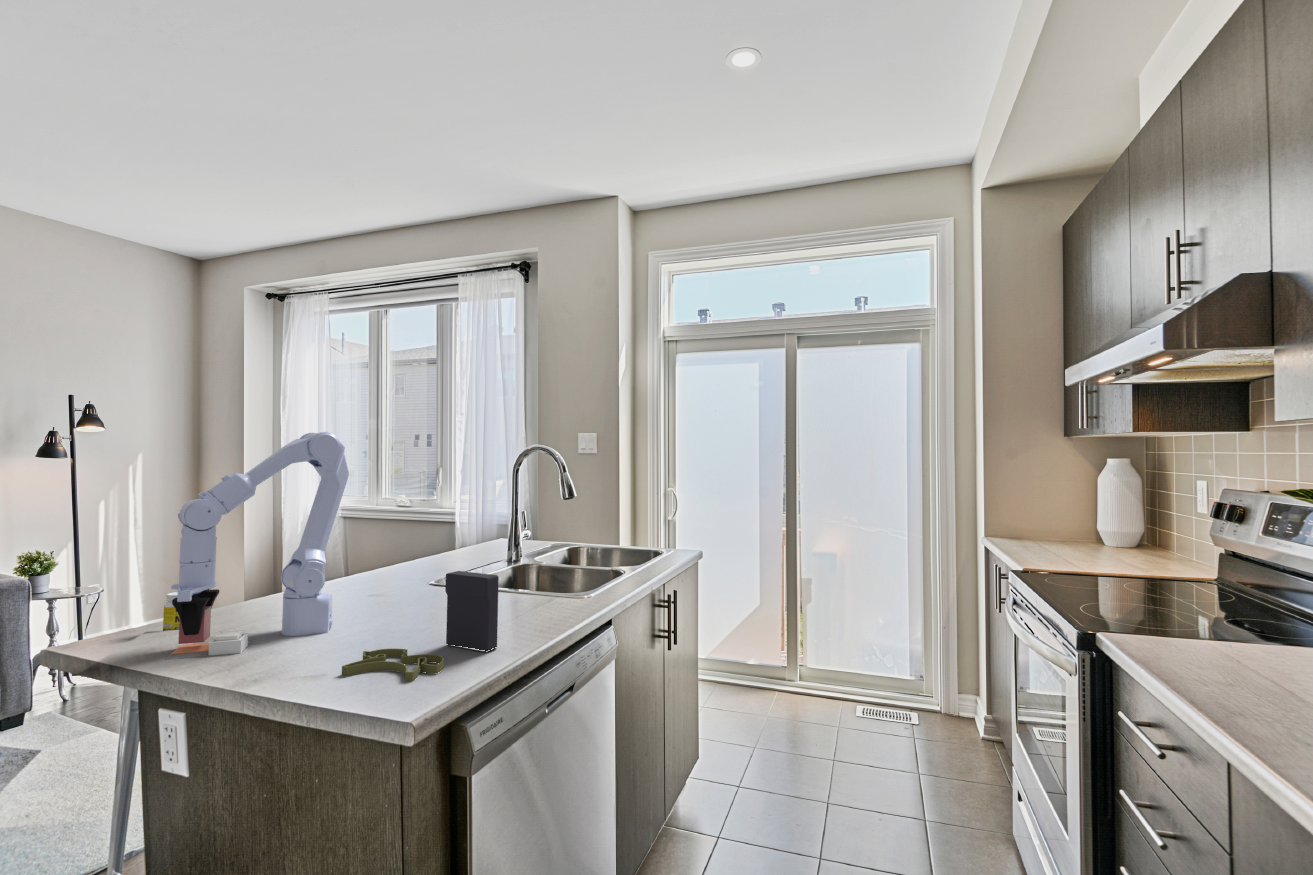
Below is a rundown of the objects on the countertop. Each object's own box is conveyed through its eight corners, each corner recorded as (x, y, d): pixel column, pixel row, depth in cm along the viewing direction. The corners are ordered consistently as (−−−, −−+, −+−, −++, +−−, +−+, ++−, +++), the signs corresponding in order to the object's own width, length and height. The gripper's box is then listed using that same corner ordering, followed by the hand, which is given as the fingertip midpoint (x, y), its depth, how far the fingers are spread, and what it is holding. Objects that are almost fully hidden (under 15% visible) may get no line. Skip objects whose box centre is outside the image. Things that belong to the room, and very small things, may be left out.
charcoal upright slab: (499, 648, 130) (501, 574, 130) (485, 653, 126) (487, 577, 126) (458, 641, 134) (460, 569, 135) (443, 646, 130) (445, 573, 131)
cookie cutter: (330, 677, 113) (331, 665, 113) (373, 656, 124) (373, 646, 124) (422, 685, 109) (422, 673, 109) (457, 663, 121) (457, 653, 121)
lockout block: (210, 636, 125) (211, 605, 126) (203, 642, 122) (204, 610, 122) (185, 638, 124) (186, 607, 124) (178, 643, 120) (179, 612, 120)
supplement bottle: (175, 635, 136) (176, 596, 136) (156, 634, 137) (158, 594, 137) (195, 629, 140) (196, 591, 141) (177, 628, 141) (179, 590, 142)
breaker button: (242, 645, 124) (242, 630, 125) (237, 651, 121) (237, 635, 121) (220, 647, 123) (221, 631, 123) (214, 652, 120) (215, 636, 120)
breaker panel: (252, 646, 129) (252, 628, 129) (240, 659, 120) (240, 640, 120) (181, 651, 125) (182, 633, 125) (163, 665, 116) (164, 646, 116)
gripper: (186, 556, 129) (183, 623, 128) (158, 568, 115) (155, 643, 115) (227, 554, 131) (224, 620, 131) (204, 566, 118) (201, 640, 117)
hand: (195, 631), depth 123 cm, fingers closed on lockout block, 4 cm apart
